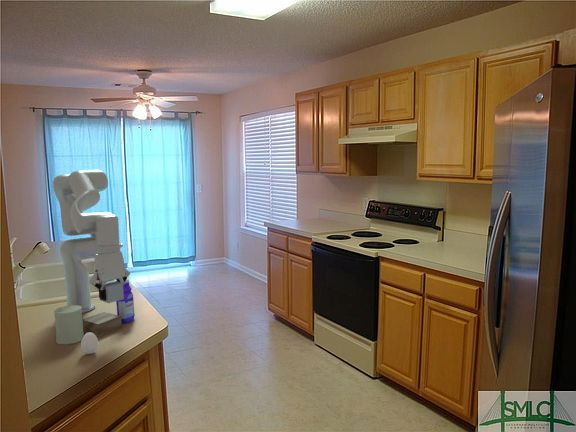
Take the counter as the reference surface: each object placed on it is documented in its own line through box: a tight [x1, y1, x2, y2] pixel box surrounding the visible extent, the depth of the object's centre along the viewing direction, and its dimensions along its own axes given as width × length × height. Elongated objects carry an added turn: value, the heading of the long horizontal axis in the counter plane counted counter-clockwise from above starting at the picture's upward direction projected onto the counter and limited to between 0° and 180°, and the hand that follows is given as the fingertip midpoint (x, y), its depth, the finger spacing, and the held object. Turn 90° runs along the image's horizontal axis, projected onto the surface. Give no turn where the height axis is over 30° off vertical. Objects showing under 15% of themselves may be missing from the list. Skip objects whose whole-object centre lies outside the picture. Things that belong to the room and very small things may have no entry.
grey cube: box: [99, 279, 124, 304], centre depth 161 cm, size 6×6×6 cm
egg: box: [80, 332, 99, 355], centre depth 149 cm, size 5×5×7 cm
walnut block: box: [82, 311, 123, 337], centre depth 171 cm, size 10×10×5 cm
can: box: [53, 305, 85, 345], centre depth 162 cm, size 9×9×12 cm
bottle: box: [115, 277, 135, 324], centre depth 180 cm, size 7×6×17 cm
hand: (111, 297), depth 161 cm, fingers closed on grey cube, 6 cm apart
